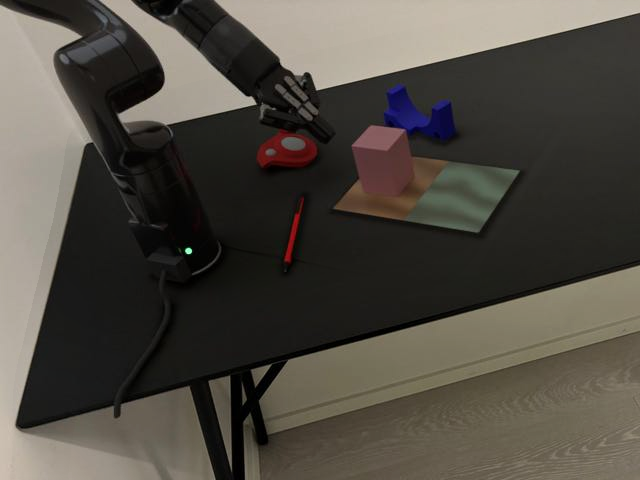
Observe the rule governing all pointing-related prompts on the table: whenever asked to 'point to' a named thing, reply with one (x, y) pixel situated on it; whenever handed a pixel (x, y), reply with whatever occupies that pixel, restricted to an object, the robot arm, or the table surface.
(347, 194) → the multicoloured piece
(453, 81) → the table surface
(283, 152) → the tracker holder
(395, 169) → the pink block
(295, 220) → the pen
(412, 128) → the blue curved block
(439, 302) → the table surface
